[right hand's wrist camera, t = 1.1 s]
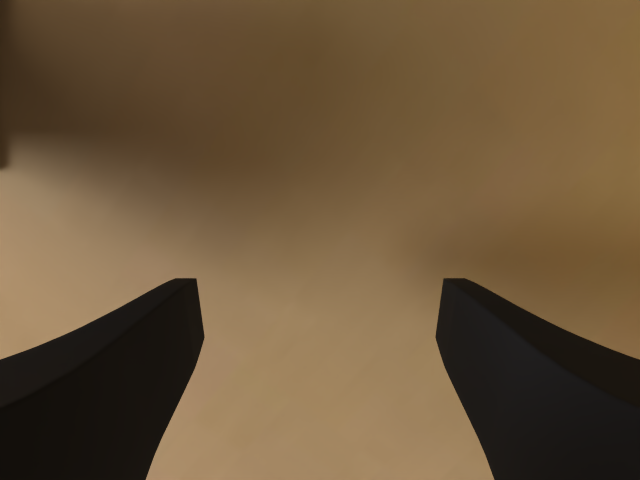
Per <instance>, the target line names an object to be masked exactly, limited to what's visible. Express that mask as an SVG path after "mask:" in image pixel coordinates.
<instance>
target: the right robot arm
mask: <svg viewBox="0 0 640 480" xmlns="http://www.w3.org/2000/svg"><path fill="white" fill-rule="evenodd" d="M203 341H204V330H203V323H202V316H201V308H200V301H199V294H198V287H197V280H196V278H175V279H173V280H170V281H168V282H166V283H164V284H162V285H160V286H158V287H156V288H154V289H153V290H151V291H149V292H147V293H145V294H143V295H142V296H140V297H138V298H136V299H134V300H133V301H131V302H129V303H127V304H125V305H123V306H122V307H120V308H118V309H116V310H114V311H112V312H110V313H108V314H106V315H104V316H102V317H100V318H98V319H96V320H94V321H92V322H90V323H89V324H87V325H85V326H83V327H80V328H78V329H76V330H74V331H72V332H70V333H67V334H65V335H63V336H61V337H58V338H56V339H54V340H51V341H49V342H46V343H44V344H42V345H39V346H37V347H34V348H32V349H29V350H26V351H24V352H21V353H18V354H15V355H12V356H9V357H7V358H4V359H1V360H0V480H146V477H147V474H148V471H149V469H150V466H151V463H152V460H153V457H154V455H155V453H156V450H157V448H158V446H159V443H160V441H161V439H162V436H163V434H164V432H165V430H166V428H167V426H168V424H169V422H170V420H171V418H172V415H173V413H174V411H175V409H176V407H177V405H178V403H179V401H180V399H181V397H182V395H183V393H184V390H185V388H186V386H187V384H188V382H189V380H190V378H191V375H192V373H193V371H194V369H195V366H196V363H197V360H198V357H199V354H200V351H201V347H202V344H203ZM436 341H437V344H438V347H439V351H440V354H441V357H442V360H443V363H444V366H445V369H446V371H447V373H448V375H449V378H450V380H451V382H452V384H453V386H454V388H455V390H456V393H457V395H458V397H459V399H460V401H461V403H462V405H463V407H464V409H465V411H466V413H467V415H468V418H469V420H470V422H471V424H472V426H473V428H474V430H475V432H476V434H477V436H478V439H479V441H480V443H481V446H482V448H483V450H484V453H485V455H486V457H487V460H488V463H489V466H490V469H491V471H492V474H493V477H494V480H640V360H639V359H636V358H633V357H630V356H627V355H625V354H622V353H619V352H617V351H614V350H611V349H609V348H606V347H604V346H601V345H599V344H597V343H594V342H592V341H589V340H587V339H584V338H582V337H580V336H577V335H575V334H573V333H571V332H568V331H566V330H564V329H562V328H560V327H558V326H556V325H554V324H552V323H550V322H548V321H546V320H544V319H541V318H539V317H538V316H536V315H534V314H532V313H530V312H528V311H526V310H524V309H522V308H520V307H519V306H517V305H515V304H513V303H511V302H509V301H508V300H506V299H504V298H502V297H500V296H499V295H497V294H495V293H493V292H491V291H490V290H488V289H486V288H484V287H482V286H480V285H478V284H476V283H474V282H472V281H470V280H467V279H465V278H444V280H443V287H442V294H441V301H440V308H439V316H438V323H437V330H436Z"/></svg>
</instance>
